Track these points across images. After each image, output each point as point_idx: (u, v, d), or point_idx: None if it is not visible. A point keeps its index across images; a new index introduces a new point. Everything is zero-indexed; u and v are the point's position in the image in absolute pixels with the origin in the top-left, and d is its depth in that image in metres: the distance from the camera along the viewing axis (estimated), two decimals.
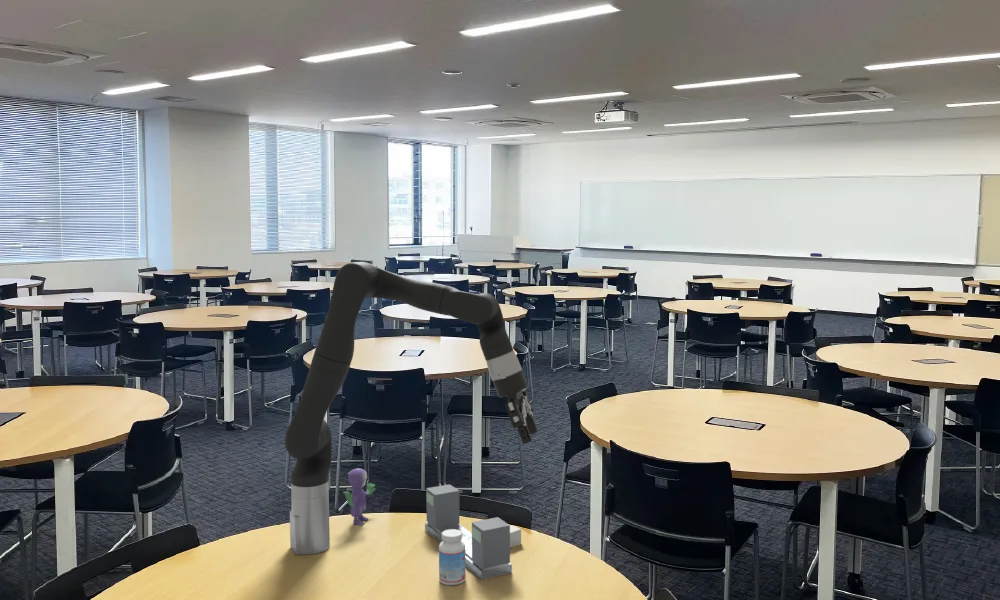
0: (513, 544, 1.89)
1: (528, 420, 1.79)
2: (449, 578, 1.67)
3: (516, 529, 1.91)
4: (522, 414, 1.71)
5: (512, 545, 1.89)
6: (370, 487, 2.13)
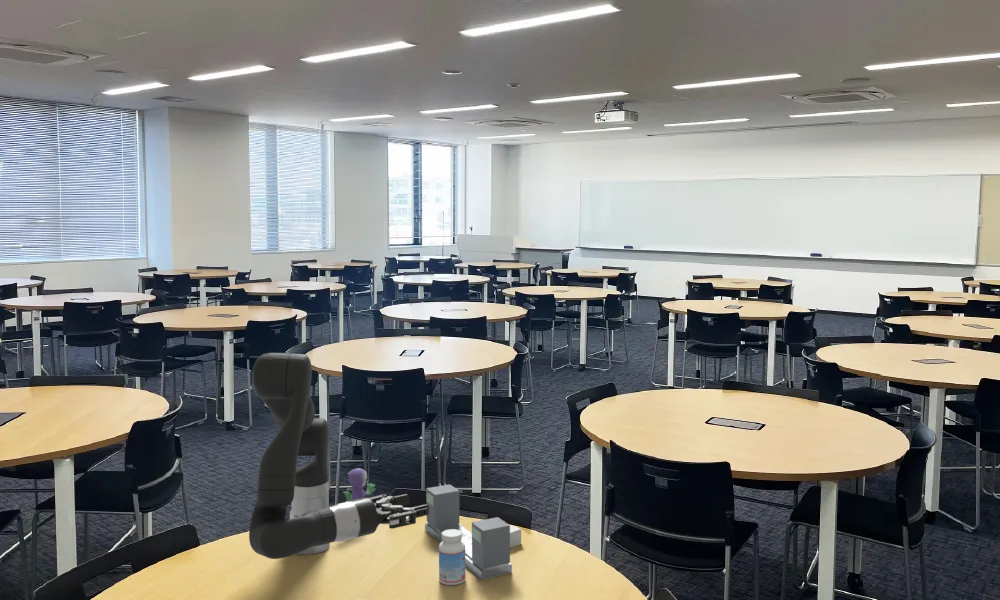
0: (513, 544, 1.89)
1: None
2: (449, 578, 1.67)
3: (516, 529, 1.91)
4: None
5: (512, 545, 1.89)
6: (370, 487, 2.13)
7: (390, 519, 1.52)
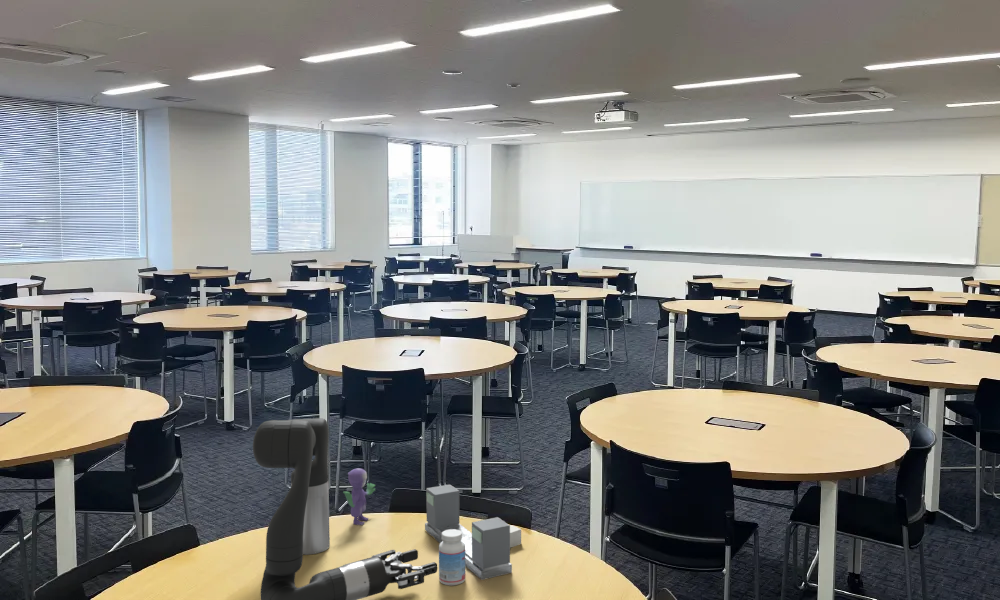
0: (513, 544, 1.89)
1: None
2: (449, 578, 1.67)
3: (516, 529, 1.90)
4: None
5: (512, 545, 1.89)
6: (370, 487, 2.13)
7: (399, 580, 1.54)
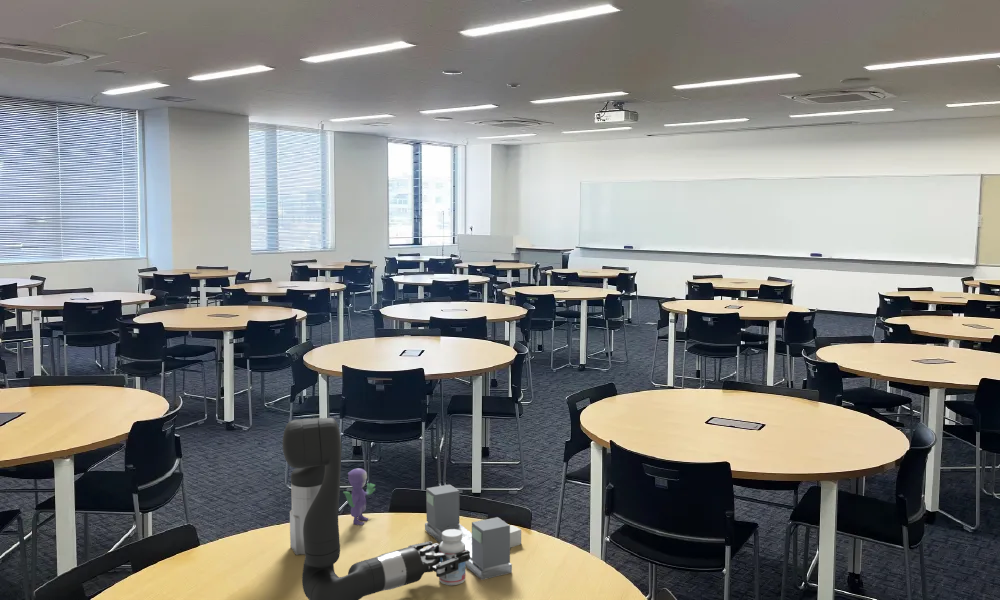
0: (512, 544, 1.89)
1: None
2: (449, 578, 1.67)
3: (516, 529, 1.90)
4: None
5: (512, 545, 1.89)
6: (370, 487, 2.13)
7: (437, 568, 1.60)
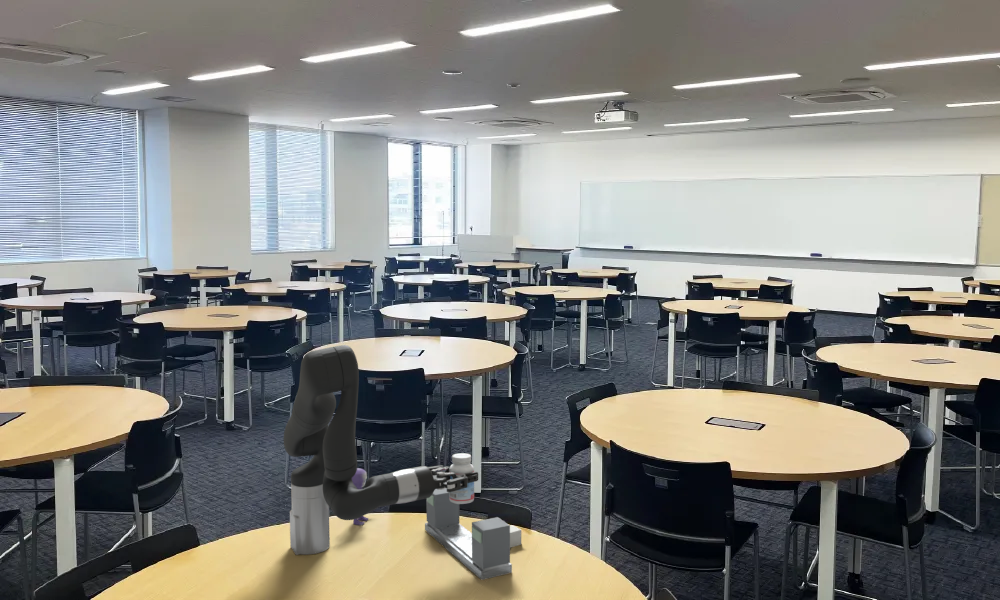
0: (512, 544, 1.89)
1: None
2: (459, 497, 1.78)
3: (516, 529, 1.90)
4: None
5: (511, 545, 1.89)
6: None
7: (448, 484, 1.71)
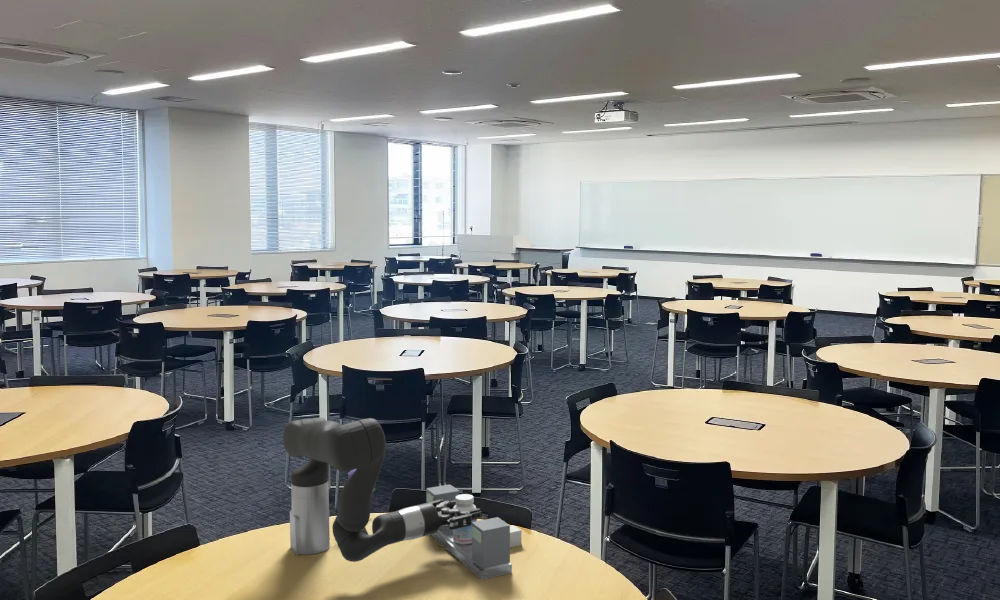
0: (512, 544, 1.89)
1: None
2: (462, 537, 1.84)
3: (516, 530, 1.90)
4: None
5: (511, 545, 1.89)
6: None
7: (450, 521, 1.76)
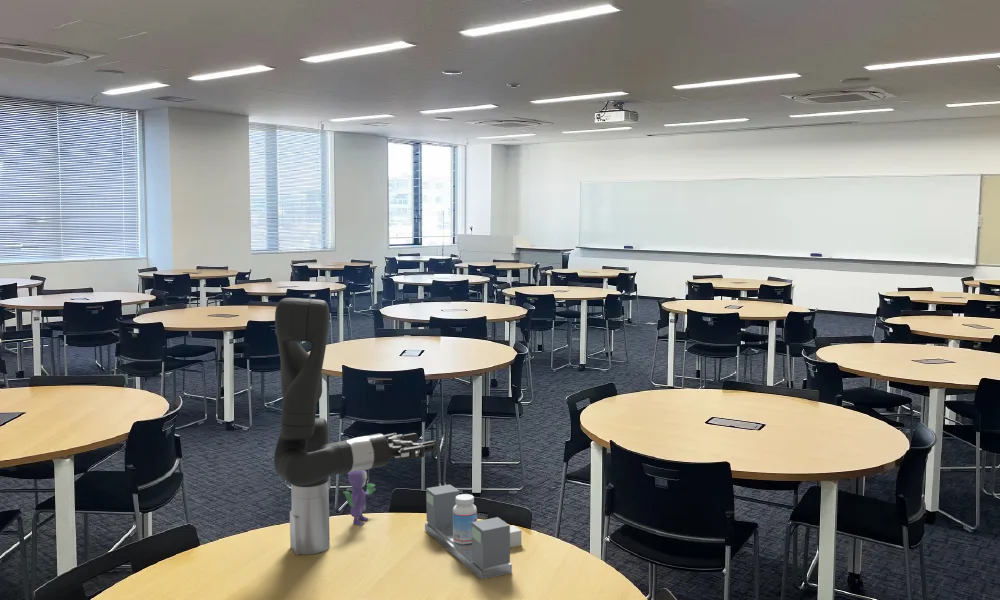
0: (511, 545, 1.89)
1: None
2: (462, 537, 1.84)
3: (516, 530, 1.90)
4: None
5: (511, 545, 1.89)
6: (370, 487, 2.13)
7: (401, 452, 1.67)
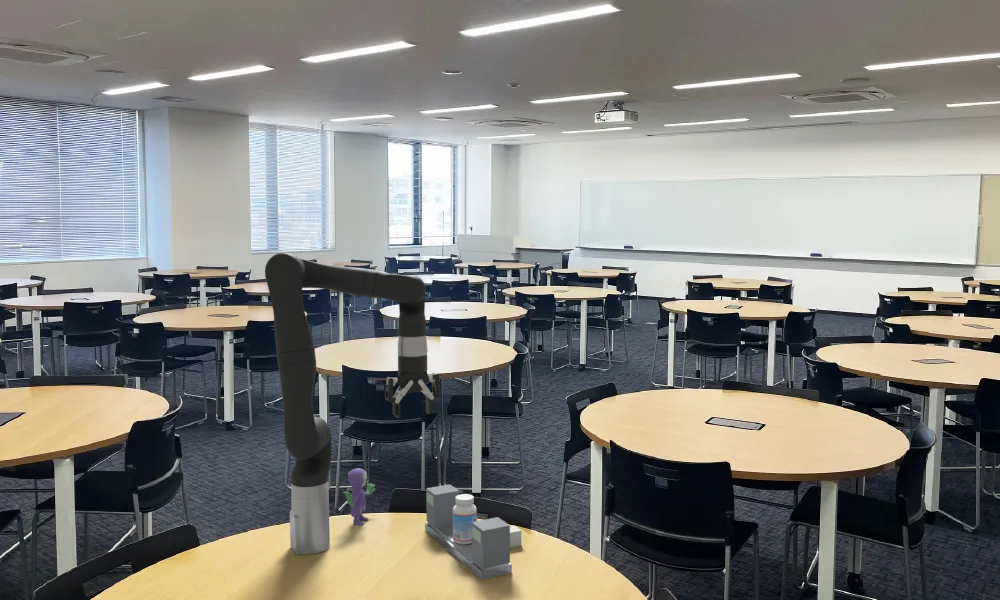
0: (511, 545, 1.89)
1: (427, 400, 1.93)
2: (462, 537, 1.84)
3: (516, 530, 1.90)
4: (399, 392, 1.88)
5: (510, 546, 1.89)
6: (370, 487, 2.13)
7: (434, 373, 1.94)
